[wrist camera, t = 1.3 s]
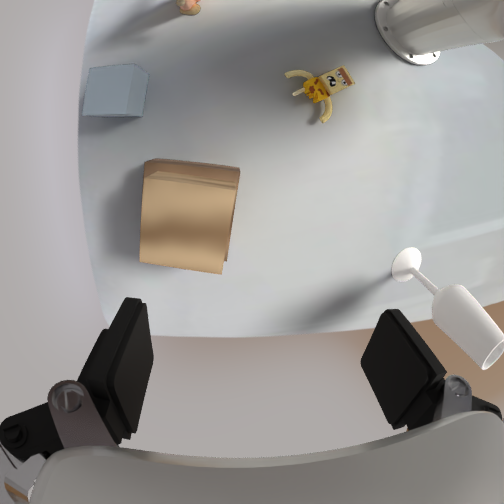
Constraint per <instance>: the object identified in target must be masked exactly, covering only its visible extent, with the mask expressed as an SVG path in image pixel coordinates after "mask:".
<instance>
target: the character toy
mask: <svg viewBox="0 0 504 504" xmlns="http://www.w3.org/2000/svg"><path fill="white" fill-rule="evenodd" d="M284 74H285V76H286V77H287V78H291V77H294V76H303V77H306V78H307V79H308V80H307V81H306V82H304V83H303V88H301V89H299V90H297V91H295V92H294V93H292V95H293V96H296V95H298V94H300V93H302V92H304V93H305V94H307V95H306V96H309V99H311V98H313V103H317V102H319V101H321V100H324V102H325V112H324V114H323V115H322V116H321V117H319V118H320V120H321V122H322V123H325V122H326V121H327V120H328V119H329V118H330V116H331V113H332V101H331V99H330V97H329V96H330V95H332V94H334V93H336V92H338V91H340V90H343V89H345V88H347V87H349V86H351V85H353V84H355V82H354V81H353V79H352V77H351V76H350V74H349V72H348V71H347V69H346V68H345V66H344V65H343V66H341V67H339V68H336V69H334V70H332V71H330V72H327V73H325V74H323V75H321V76H320V77H315V78H314V76H313V75H312V74H310V73H309V72H307V71H303V70H292V71H289V72H286V73H284Z"/></svg>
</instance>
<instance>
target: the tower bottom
mask: <svg viewBox="0 0 504 504" xmlns="http://www.w3.org/2000/svg"><path fill="white" fill-rule="evenodd" d="M157 171H160V172H168V173H177V174H184V175H192V176H199V177H206V178H213V179H219V180H226V181H232V182H236V194H235V200H234V205H233V211H232V216H231V222H230V228H229V233H228V239H227V245H226V251H225V257H224V261H227V256H228V249H229V242H230V235H231V228H232V222H233V215H234V209H235V202H236V196H237V190H238V183H239V177H240V169H239V168H238V167H231V166H224V165H216V164H208V163H199V162H190V161H180V160H168V159H152V160H149V161H146V162H145V165H144V177H143V186H144V178H145V177H147V176H149V175H151V174H153V173H155V172H157ZM142 197H143V191H142ZM141 211H142V210H141Z"/></svg>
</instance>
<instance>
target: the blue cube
mask: <svg viewBox="0 0 504 504" xmlns="http://www.w3.org/2000/svg"><path fill="white" fill-rule="evenodd" d="M149 75H150V74H149V73H148V72H146V71H145V70H143V69H142V68H140V67H139V66H137V65H136V64H124V65H112V66H103V67H94V68H90V69H89V74H88V79H87V85H86V90H85V96H84V103H83V110H82V116H95V117H142V116H143V110H144V103H145V97H146V91H147V85H148V80H149Z"/></svg>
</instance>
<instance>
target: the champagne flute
mask: <svg viewBox="0 0 504 504" xmlns="http://www.w3.org/2000/svg"><path fill="white" fill-rule="evenodd" d="M420 265H421V254H420V252H419V251H418V250H417V249H416V248H413V247H410V248H406V249H404V250H402V251H401V252H400V253H399V254H398V255H397V256H396V258H395V260H394V262H393V265H392V276H393V278H394V279H395V280H396V281H399V282H404V281H407V280H409V279H411V278H412V277H413V276H415V277H416V278H417V279H418V280H419V281H420V282H421V283H422V284H423V285H424V286H425V287H426V288H427V289H428V290H429V291H430V292H431V293H432V294H433V295H434V300H433V304H432V318H433V321H434V323H435V324H436V325H437V326H438V327H439V328H440V329H441V330H442V331H443V332H445V333H446V334H447V335H448V336H449V337H450V338H451V339H452V340H453V341H454V342H455V343H456V344H457V345H458V346H459V347H460V348H462V350H463V351H465V353H467V354H468V355H469V356H470V357H471V358H472V359H473V360H474V361H475V362H476V363H477V364H478V365H479V366H480V367H481V368H482V369H483V370H485V369H487V368H488V367H490V366H491V365H492V364H494V363H495V361H496V360H497V359H498V358H499V357H500V356H501V354H502V353H503V351H504V334H503V333H502V331H501V330H500V329H499V327H498V326H497V325H496V324H495V322H494V321H493V320H492V319H491V317H490V316H489V315H488V314H487V312H486V311H485V310H484V309H483V308H482V306H481V305H480V304H479V303H478V302H477V301H476V300H475V298H474V297H473V296H472V295H471V294H470V293H469V292H468V290H467V289H466V288H465V287H464V286H462V285H457V284H453V285H448V286H446V287H444V288H441V289H440V290H439V289H438V288H437V287H436V286H435V285H434V284H433V283H432V282H430V281H429V280H428V279H427V278H426V277H425V276H424V275H423V274H422V273H420V272H419V271H418V269H419V267H420Z"/></svg>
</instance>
